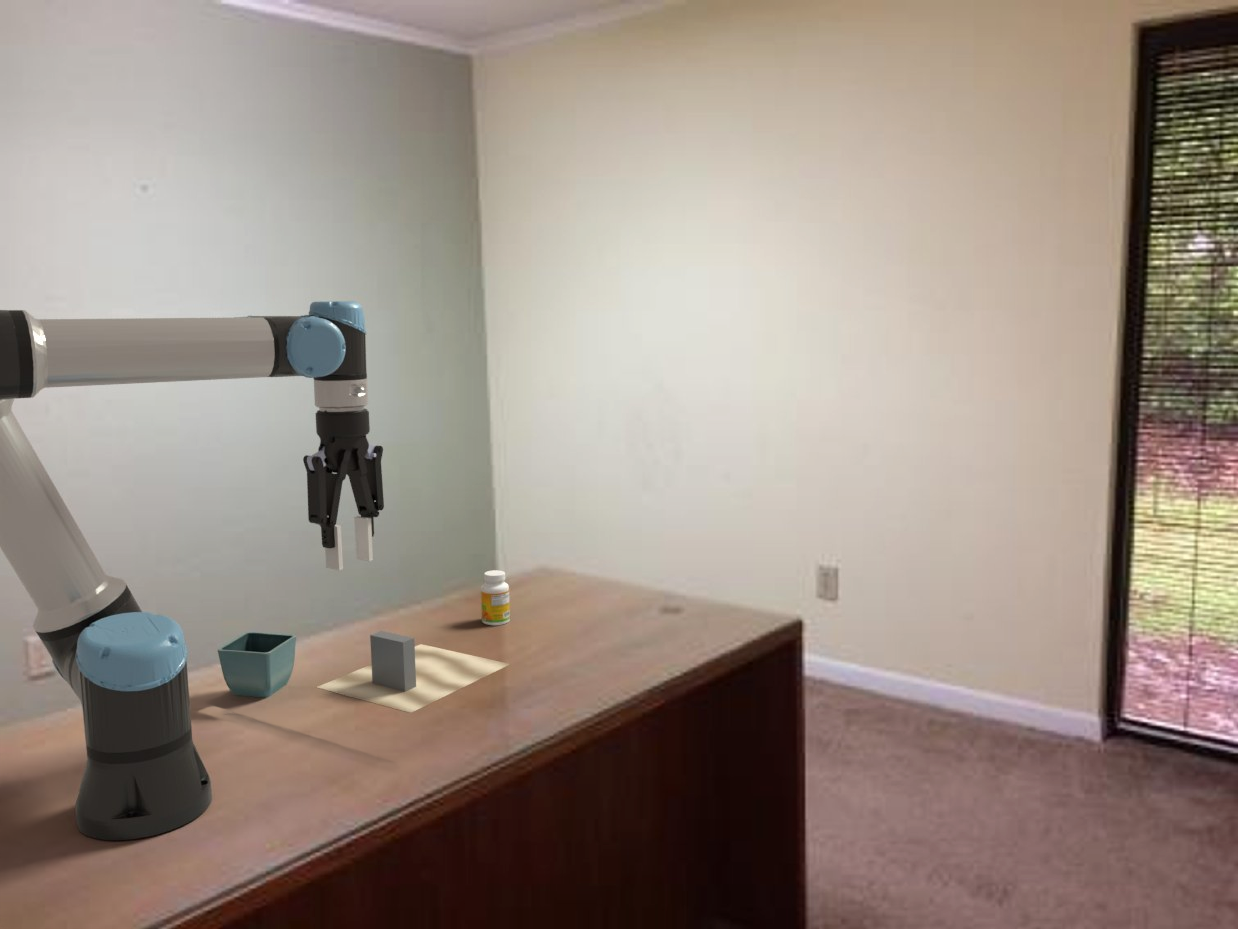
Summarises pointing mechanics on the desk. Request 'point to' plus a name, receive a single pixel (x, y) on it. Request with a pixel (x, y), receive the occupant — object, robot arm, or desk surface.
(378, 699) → the board
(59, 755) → the desk surface
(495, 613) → the supplement bottle
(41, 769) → the desk surface
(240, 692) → the flower pot
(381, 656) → the tile
